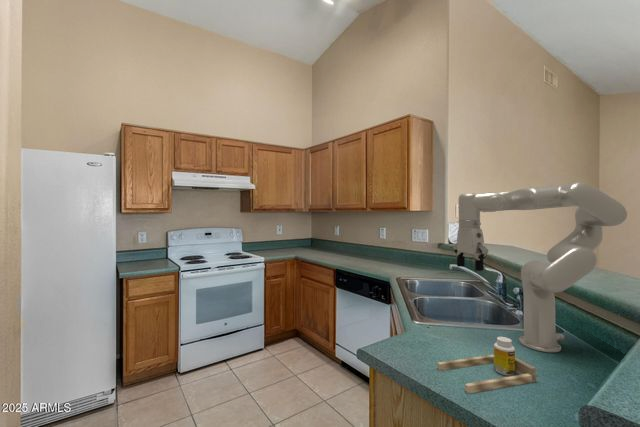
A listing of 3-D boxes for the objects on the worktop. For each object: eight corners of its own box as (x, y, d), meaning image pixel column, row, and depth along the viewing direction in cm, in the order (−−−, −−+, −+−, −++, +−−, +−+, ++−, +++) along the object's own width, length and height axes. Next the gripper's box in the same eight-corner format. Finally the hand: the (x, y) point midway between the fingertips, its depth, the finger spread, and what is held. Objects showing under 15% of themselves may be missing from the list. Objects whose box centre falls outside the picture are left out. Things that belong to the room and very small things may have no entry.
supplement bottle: (510, 378, 87) (509, 344, 87) (490, 370, 91) (490, 338, 91) (518, 373, 90) (518, 340, 90) (499, 365, 94) (499, 334, 94)
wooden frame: (499, 359, 98) (498, 347, 98) (537, 381, 85) (537, 367, 85) (437, 368, 92) (437, 356, 92) (468, 393, 79) (468, 379, 79)
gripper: (495, 225, 107) (495, 271, 106) (461, 224, 123) (462, 264, 123) (478, 225, 105) (478, 272, 105) (446, 224, 122) (446, 265, 121)
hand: (469, 268), depth 114 cm, fingers open, 9 cm apart
